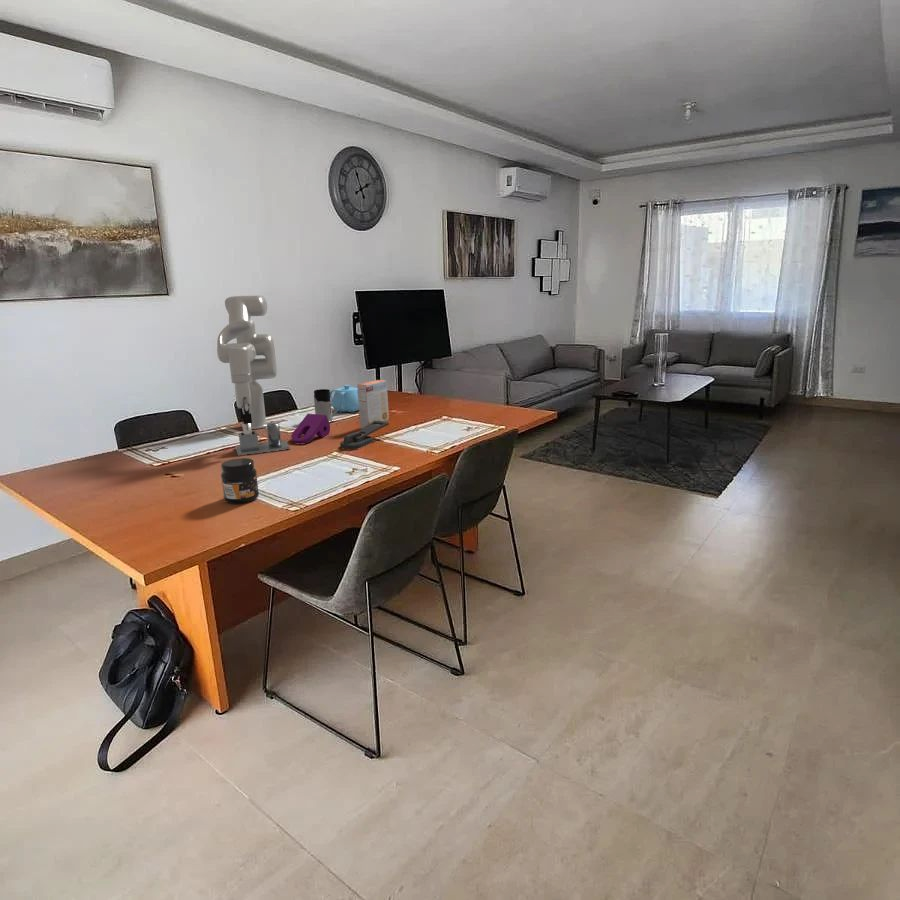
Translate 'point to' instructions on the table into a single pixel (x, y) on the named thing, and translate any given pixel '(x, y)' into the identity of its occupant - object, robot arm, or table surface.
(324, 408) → the black and grey mug
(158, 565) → the table surface
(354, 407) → the decorative pot
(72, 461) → the table surface
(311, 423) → the mounting bracket
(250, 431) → the locking pin
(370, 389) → the cracker box
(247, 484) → the supplement container
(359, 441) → the zipper pull
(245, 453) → the grey fixture stand
